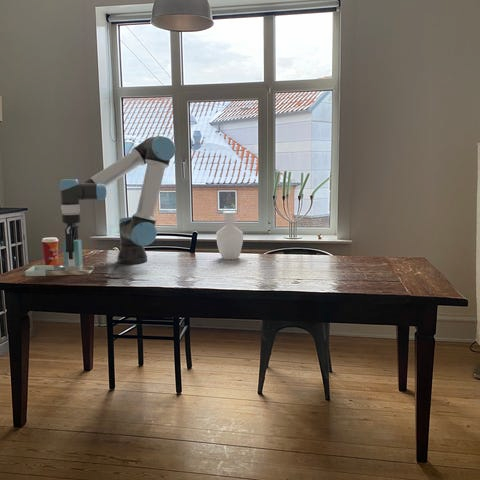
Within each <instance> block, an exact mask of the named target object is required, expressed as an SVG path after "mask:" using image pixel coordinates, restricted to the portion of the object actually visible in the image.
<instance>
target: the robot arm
mask: <svg viewBox="0 0 480 480" xmlns="http://www.w3.org/2000/svg"><path fill="white" fill-rule="evenodd" d="M176 152H177V151H176V145H175V143H174V141H173V139H172V138H170V137H169V136H167V135H156V136H151V137H148V138H146V139H145V140H143V141H141V142H140V143H139V144H138V145H136V146H135V147H133V148H131V151H130V152H129V153H127V154H126V155H124V156H123V157H121V158H119V159H118V160H116V161H115V162H113V163H112V164H111V165H108V166H107V167H106V168H105V167H104V169H102V170H100V171H99V172H97V173H96V174H94V175H93V176H91V177H90V178H88V179H87V180H84V182H80V183H79V180H78V179H76V178H72V179H69V178H67V179H66V178H65V179H61V180H60V184H59V185H60V189H59V191H60V201H61V206H60V209H61V213H62V215H61V220H62V223H63V224H66V226H65V229H64V234H65V240H66V252H68V266H75V253H74V240H80V238H79V226H78V225H77V224H78V223H81V214H80V212H81V208H80V201H100V200H101V201H102V200H105V199H106V197H107V187H108V186H110V185H111V184H113V183H114V182H116V181H117V180H119V179H121V178H123V176H125V175H127V174H128V173H130V172H131V171H133V170H134V169H136V168H138V167H139V166H145V165H146V170H145V174H144V177H143V183H142V187H141V191H140V196H139V200H138V204H137V209H136V212H135V213H134V214H132V216H129V217H121V218H119V224H118V227H119V229H118V230H119V244H120V247H119V250H118V255H117V257H116V261H117V263H119V264H125V265H134V264H136V265H137V264H143V263H146V262H148V255H147V253H146V250H145V247H146V246H149V245H151V244H152V243H153V242H154V241H155V240H156V237H157V235H158V234H157V233H158V231H157V229H156V222H157V220H156V218H155V214H156V209H157V204H158V201H159V200H158V199H159V195H160V191H161V187H162V184H163V183H162V182H163V178H164V173H165V169H167V168H168V167H169V166H170V162H171V159H173V158H174V156H175V155H176Z"/></svg>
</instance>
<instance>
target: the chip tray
mask: <svg viewBox="0 0 480 480" xmlns="http://www.w3.org/2000/svg"><path fill="white" fill-rule="evenodd" d="M53 267H54V266H53V265H45V264H44V265H41V264H40V265H33V266H31V267H29V268H28V269H26V270H25V271H24V277H40V276H41V277H45V276H47V272H46V271H54V268H53Z"/></svg>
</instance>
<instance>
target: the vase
mask: <svg viewBox="0 0 480 480" xmlns="http://www.w3.org/2000/svg"><path fill="white" fill-rule="evenodd" d="M237 213H238V212H237V211H235V210H234V211H233V210H231V211H230V210H229V211H228V210H225V211H222V215H223V219H224V222H225V225H224V226H223V227H221V228H220V229H219V230H217V231H216V234H215V235H216V236H215V237H216V244H217V249H218V251H219V254H220V255H221V258H222V259H223V258H224V260H229V259H232V260H237V258H238V259H239V257H240V255H241V252H242V247H243V244H244V231H242V230H241V229H240V228H238V227H237V226H236V225H235V220H236V217H237Z"/></svg>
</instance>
